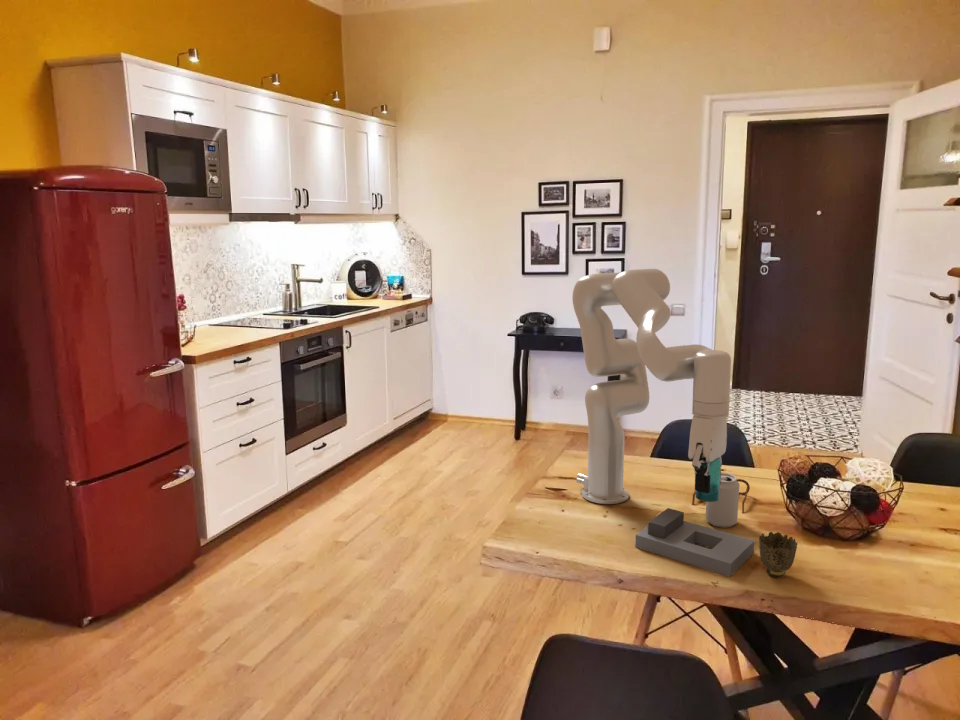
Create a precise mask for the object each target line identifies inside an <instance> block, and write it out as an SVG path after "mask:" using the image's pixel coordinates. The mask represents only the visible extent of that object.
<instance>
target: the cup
mask: <svg viewBox="0 0 960 720" xmlns="http://www.w3.org/2000/svg"><path fill="white" fill-rule="evenodd" d="M758 540H759V541H758V544H759V545H758V546H759V556H760V561H761V562H762V563H761V564H763V566H764V567H765V568H766V569H765V570H766V573H767V575H768V576H770V577H773V578H783V577H784V576H785V574H786V571H788V570H789V569H790V568H791V567H792V566H793V564H794V561H795V558H796V553H797V548H798V541H796V538H793V536H790V537H789V536H788V534H784V535H782V533H781V532H779V531H777V532H775V533H773V531H769V532H768V535H765V534H764V533H761V535H759V536H758Z"/></svg>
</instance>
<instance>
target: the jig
mask: <svg viewBox="0 0 960 720" xmlns="http://www.w3.org/2000/svg"><path fill="white" fill-rule="evenodd" d="M684 517H685V513H684V511H680V510H677V509H673V508H669V507H668V508H666V509H664V510H663V511H662V512H660V513H659V514H657V515H656V516H655V517H653V518H652V519H651V520H649V521H648V523H647V524H648V525H647V526H646V527H645V528H643V529H641V530H640V531H639V532H637V533H636V534H635V546H634V547H635V548H638V549H641V550H644V551H647V552H650V553H654V554H655V555H656V554H657V555H660V556H663V557H666V558H669V559H673V560H674V561H675V560H676V561H679V562H681V563H685V564H687V565H691V566H695V567H698V568H701V569H704V570H707V571H710V572H713V573H716V574H719V575H723V576H725V577H728V578H730V577H732V576H733V575H734V573H736V572H737V570H739V569H740V568H741V566H743V565H744V563H746V561H747V560H748V559H749V558H750V557H751V556H753V555H754V554H755V545H756V544H755V543H756V541H755V540H756V539H755V540H754V539H751V538H748V537H744V536H742V535H741V536H740V535H736V534H733V533H729V532H727V531H722V530H719V529H715V528H712V527H707V526H705V525H702V524H697V523H695V522H694V523H693V522H690V521H687V520H684Z"/></svg>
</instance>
